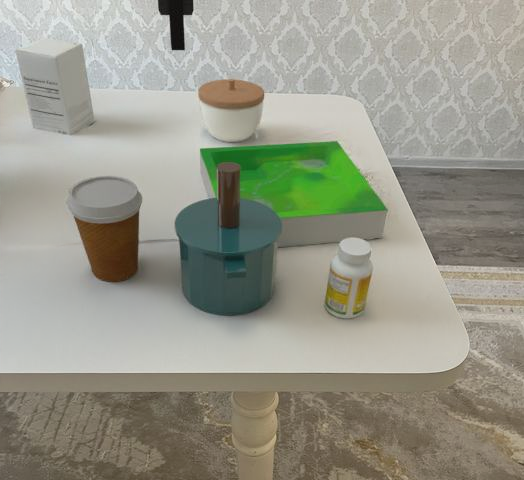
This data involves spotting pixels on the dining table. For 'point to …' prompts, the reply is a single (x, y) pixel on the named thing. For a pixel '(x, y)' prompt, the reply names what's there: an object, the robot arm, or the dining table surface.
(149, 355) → the dining table surface
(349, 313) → the supplement bottle
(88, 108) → the rectangular carton
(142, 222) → the dining table surface
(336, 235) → the tray
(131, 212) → the disposable coffee cup
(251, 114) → the lidded bowl
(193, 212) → the lid
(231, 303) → the pot
